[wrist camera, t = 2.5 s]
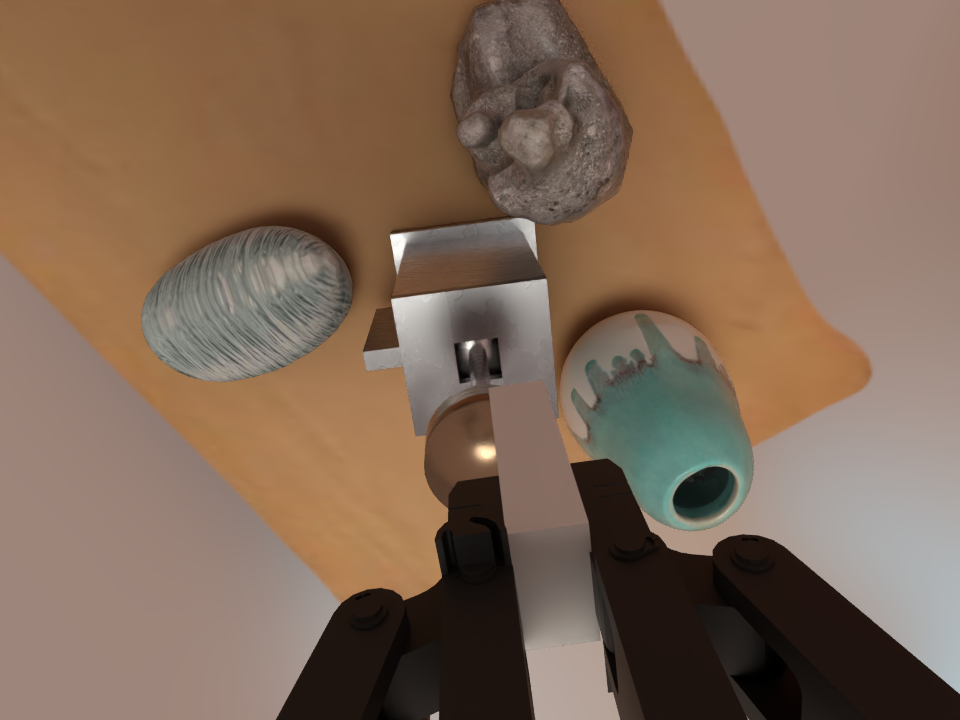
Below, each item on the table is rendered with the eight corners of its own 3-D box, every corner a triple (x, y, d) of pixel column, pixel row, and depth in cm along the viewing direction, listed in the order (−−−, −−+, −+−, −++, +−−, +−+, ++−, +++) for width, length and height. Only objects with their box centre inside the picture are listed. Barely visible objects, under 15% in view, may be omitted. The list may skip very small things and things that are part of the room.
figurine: (465, -25, 42) (477, -97, 25) (647, 8, 43) (774, -40, 26) (438, 190, 47) (433, 249, 30) (602, 215, 48) (685, 285, 31)
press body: (369, 234, 47) (342, 288, 35) (531, 213, 47) (562, 259, 35) (394, 364, 51) (376, 455, 39) (544, 344, 51) (575, 429, 39)
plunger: (420, 307, 38) (408, 411, 26) (520, 294, 38) (554, 392, 26) (435, 397, 40) (430, 532, 28) (529, 385, 40) (565, 514, 28)
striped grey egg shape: (194, 412, 48) (143, 399, 39) (153, 290, 49) (93, 247, 40) (375, 349, 51) (370, 322, 41) (332, 233, 52) (318, 180, 42)
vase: (719, 395, 54) (841, 535, 37) (585, 455, 55) (645, 614, 38) (669, 268, 49) (782, 361, 33) (526, 336, 51) (564, 457, 34)
